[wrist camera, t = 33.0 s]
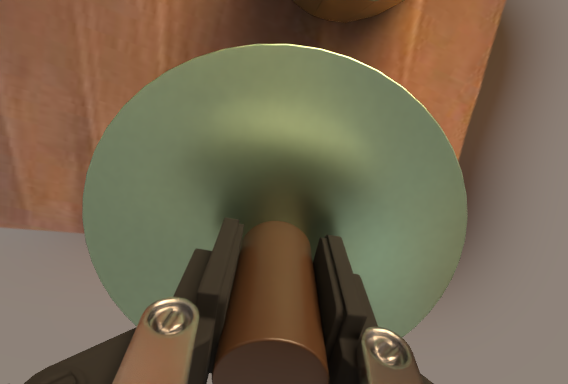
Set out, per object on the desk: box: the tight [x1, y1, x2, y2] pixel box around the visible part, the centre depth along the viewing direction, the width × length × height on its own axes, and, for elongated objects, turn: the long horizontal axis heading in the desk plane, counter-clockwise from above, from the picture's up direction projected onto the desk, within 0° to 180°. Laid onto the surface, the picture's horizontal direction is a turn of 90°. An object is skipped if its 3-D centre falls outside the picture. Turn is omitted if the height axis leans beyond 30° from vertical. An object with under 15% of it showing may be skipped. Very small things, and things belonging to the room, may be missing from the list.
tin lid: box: [83, 44, 467, 384], centre depth 10 cm, size 15×15×7 cm
